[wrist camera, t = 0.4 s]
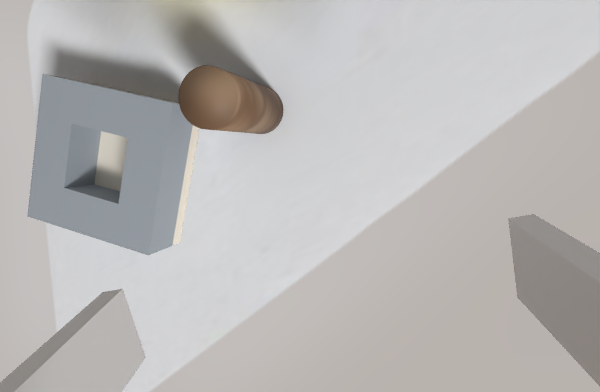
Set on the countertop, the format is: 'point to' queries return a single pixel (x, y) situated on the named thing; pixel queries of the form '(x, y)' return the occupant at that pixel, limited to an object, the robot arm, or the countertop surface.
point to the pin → (228, 102)
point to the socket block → (112, 164)
